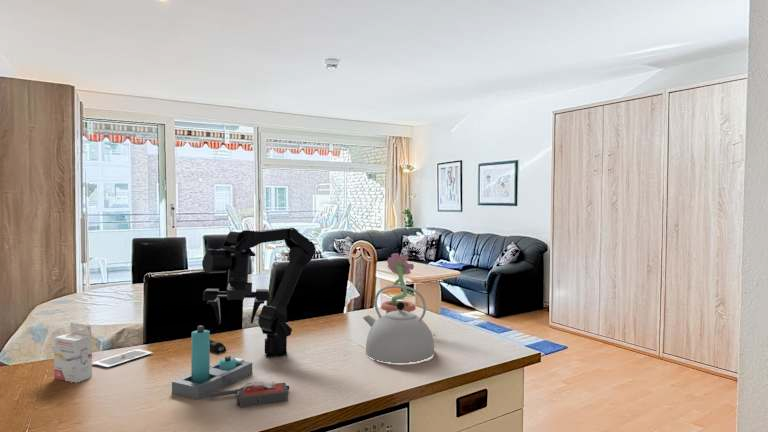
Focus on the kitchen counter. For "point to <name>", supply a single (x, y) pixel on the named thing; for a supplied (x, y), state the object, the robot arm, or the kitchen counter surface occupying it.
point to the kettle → (399, 334)
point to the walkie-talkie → (257, 393)
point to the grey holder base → (213, 378)
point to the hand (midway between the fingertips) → (235, 323)
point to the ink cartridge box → (74, 354)
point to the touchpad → (121, 357)
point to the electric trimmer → (217, 347)
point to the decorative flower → (399, 268)
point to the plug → (200, 355)
